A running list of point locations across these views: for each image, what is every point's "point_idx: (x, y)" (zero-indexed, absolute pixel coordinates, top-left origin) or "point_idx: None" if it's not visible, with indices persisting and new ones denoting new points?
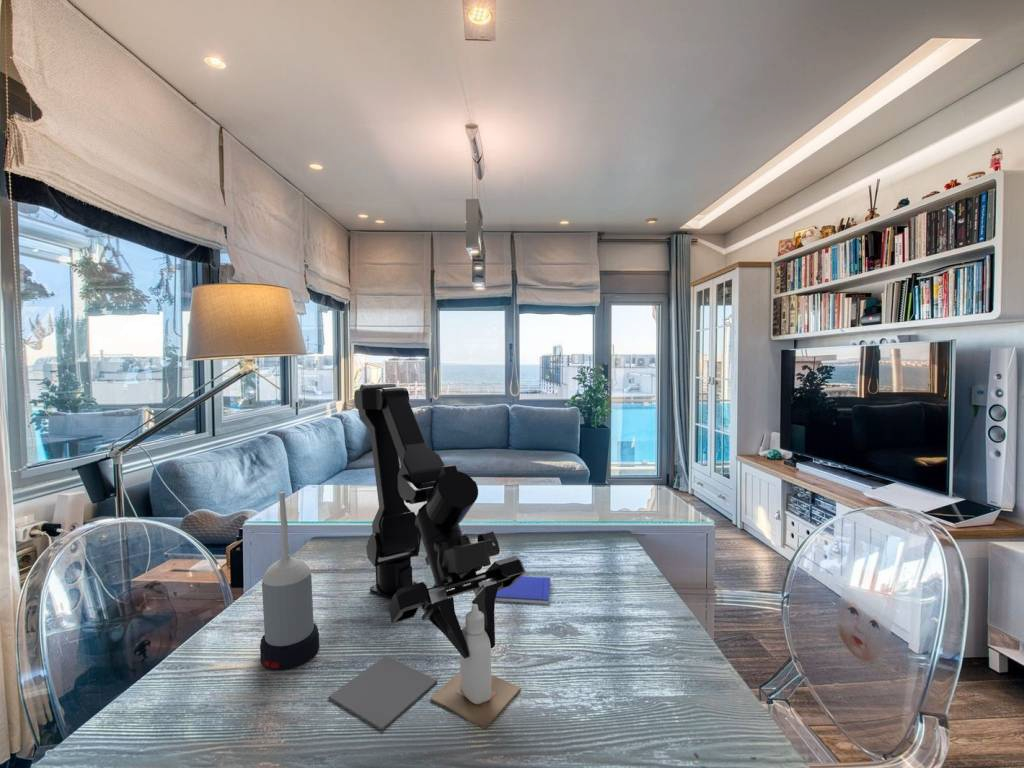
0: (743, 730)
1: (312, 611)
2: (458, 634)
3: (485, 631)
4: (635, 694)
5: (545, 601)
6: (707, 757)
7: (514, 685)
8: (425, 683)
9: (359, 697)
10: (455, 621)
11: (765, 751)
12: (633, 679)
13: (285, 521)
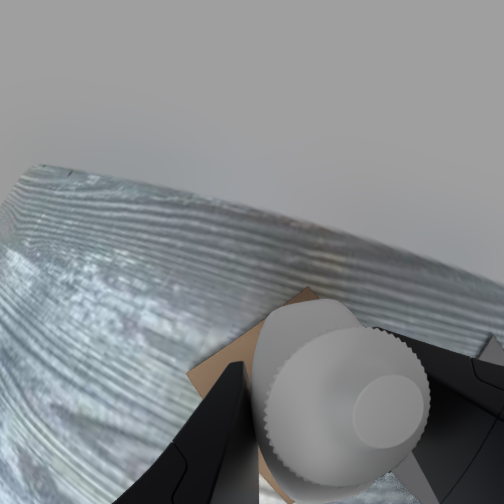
0: (22, 192)
1: None
2: (440, 354)
3: (261, 404)
4: (37, 271)
5: None
6: (66, 170)
7: (197, 386)
8: (413, 457)
9: None
10: (483, 390)
11: (33, 170)
12: (20, 299)
13: None
